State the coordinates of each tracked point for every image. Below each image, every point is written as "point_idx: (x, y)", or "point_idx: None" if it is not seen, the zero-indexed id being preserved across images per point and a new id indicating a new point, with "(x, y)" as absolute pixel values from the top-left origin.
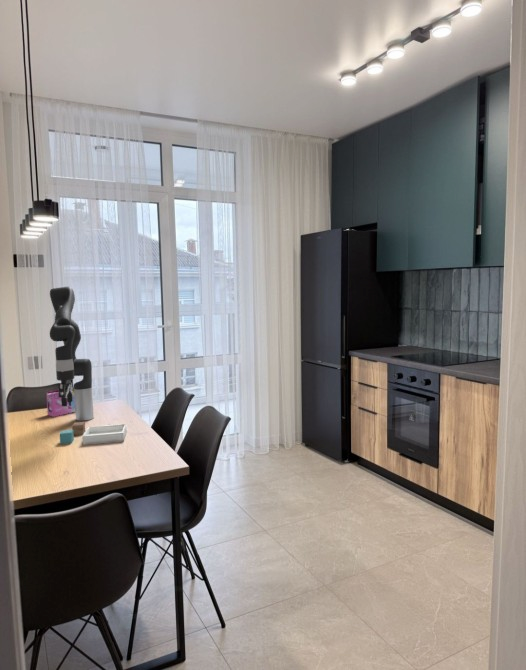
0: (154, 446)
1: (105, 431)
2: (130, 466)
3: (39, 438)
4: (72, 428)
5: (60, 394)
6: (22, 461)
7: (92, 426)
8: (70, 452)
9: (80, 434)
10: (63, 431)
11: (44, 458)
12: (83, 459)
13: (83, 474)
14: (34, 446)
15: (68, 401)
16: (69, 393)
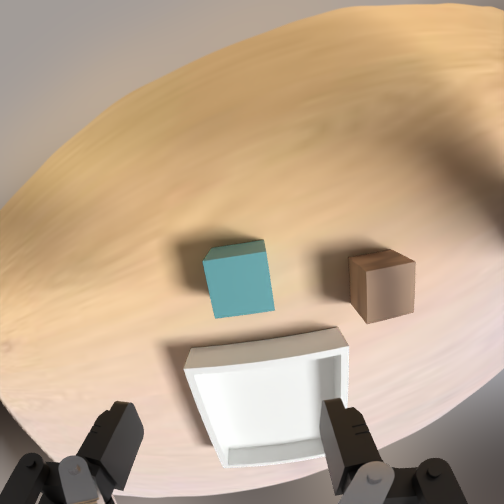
0: (179, 487)
1: (334, 390)
2: (65, 446)
3: (323, 105)
4: (359, 267)
5: (32, 485)
6: (37, 188)
7: (347, 363)
8: (109, 326)
9: (350, 291)
10: (247, 267)
11: (56, 254)
12: (67, 373)
13: (11, 378)
14: (193, 133)
15: (323, 408)
16: (346, 489)
